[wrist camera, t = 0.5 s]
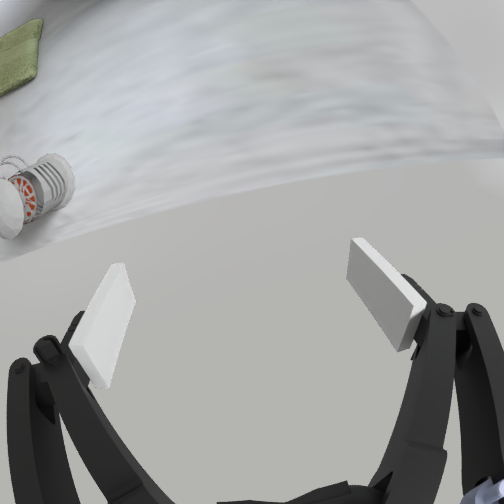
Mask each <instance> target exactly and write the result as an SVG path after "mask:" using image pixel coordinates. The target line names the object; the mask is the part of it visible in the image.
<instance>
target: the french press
mask: <svg viewBox="0 0 504 504" xmlns="http://www.w3.org/2000/svg"><path fill="white" fill-rule="evenodd" d="M11 157H14V158H18V159H20V160H21V161H22V162H23V163H24V164H25V165H26V166H28V168H25V169H23V170H27V171H24V172H23V170H21V169H20V168H19V167H18V166H16V165H15V164H13V163H10V162H4V163H2V162H3V161H4V160H5V159H7V158H11ZM3 164H12V165H14V166H15V167H17V168H18V169H19V172H21V173H20V174H18V175H14V176H12V177H11V178H9V179H8V180H6V179H5V177H0V237H1V238H3V239H12V238H14V237H16V236H17V235H18V234H19V232H20V231H21V229H22V227H23V224H27V223H29V222H33V221H35V220H36V219H38V218H39V217H41V216H42V215H43V214H45V213H46V212H48V211H49V210H59V209H61V208H64V207H65V206H66V205H67V204H68V203H69V202H70V200H71V199H72V196H73V193H74V190H75V177H74V174H73V171H72V168H71V166H70V164H69V163H68V162H67V161H66V159H65V158H63V157H62V156H60V155H58V154H46V155H45V156H43V157H41V158H40V159H39V160H38V161H37V163H36V164H33V165H30V166H29V165H28V164H27V163H26V162H25V161H24V160H23V159H21V158H20V157H18V156H12V155H11V156H7V157H4V158H3V159H2V160H1V162H0V166H1V165H3ZM17 173H18V172H17ZM38 204H39V205H41V206H43V208H42V207H39V206H38ZM37 208H39V209H41V210H42V211H39V210H37ZM36 212H40V214H37V213H36ZM35 215H37V216H36V217H34V216H35Z"/></svg>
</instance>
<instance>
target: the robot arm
mask: <svg viewBox="0 0 504 504" xmlns="http://www.w3.org/2000/svg"><path fill="white" fill-rule="evenodd" d="M347 280H348V281H349V283H350V284H351V285H352V287H353V288H354V289H355V291H356V292H357V294H358V295H359V297H360V298H361V299H362V301H363V302H364V304H365V305H366V307H367V308H368V309H369V311H370V312H371V314H372V315H373V317H374V318H375V320H376V321H377V323H378V324H379V326H380V327H381V328H382V330H383V331H384V333H385V334H386V336H387V337H388V339H389V340H390V342H391V344H392V345H393V346H394V348H395V350H396V351H397V352H399V351H402V350H405V349H409V348H410V346H411V344H412V342H413V339H414V340H415V341H416V343H417V346H416V349H415V351H414V353H413V355H412V358H411V360H413V362H412V367H411V371H410V375H409V379H408V383H407V387H406V391H405V395H404V398H403V401H402V405H401V408H400V412H399V415H398V418H397V421H396V424H395V427H394V430H393V433H392V436H391V438H390V441H389V444H388V446H387V449H386V452H385V454H384V457H383V459H382V461H381V464H380V466H379V468H378V470H377V472H376V473H375V475H374V476H373V478H372V479H371V482H370V483H369V485H368V487H367V486H361V485H348V482H347V481H344V482H340V483H337V484H333V485H330V486H326V487H322V488H318V489H315V490H313V491H311V492H309V493H307V494H305V495H302V496H300V497H298V498H296V499H293V500H290V501H288V502H285V503H279V502H264V501H253V500H245V501H234V502H233V501H232V502H217V504H433V503H434V500H435V497H436V494H437V492H438V488H439V485H440V482H441V479H442V475H443V472H444V468H445V464H446V460H447V451H446V450H444V449H443V444H444V439H445V434H446V429H447V424H448V418H449V412H450V406H451V398H452V390H453V381H454V380H455V386H456V393H457V401H458V409H459V419H460V431H461V453H462V488H463V495H464V497H463V499H462V501H461V503H460V504H504V351H503V348H502V346H501V343H500V341H499V338H498V335H497V333H496V331H495V328H494V326H493V323H492V321H491V318H490V316H489V314H488V312H487V310H486V309H485V308H484V307H483V306H482V305H480V304H476V303H471V304H468V306H467V308H466V310H465V312H455V311H454V310H453V308H451V307H450V306H448V305H446V304H442V303H438V304H436V303H435V302H434V301H433V299H432V298H431V297H430V296H429V295H428V294H427V293H426V292H425V291H424V290H422V288H421V287H420V286H419V285H417V283H416V282H415V281H414V280H413V279H412V278H410V277H409V276H407V275H405V274H401V275H400V274H399V273H398V272H397V271H396V270H395V269H394V268H393V267H392V266H391V265H390V264H389V263H388V262H387V261H386V260H385V259H384V258H383V257H382V256H381V255H380V254H379V253H378V252H377V251H376V250H375V249H374V248H373V247H372V246H371V245H370V244H369V243H368V242H367V241H366V240H365V239H364V238H352V239H351V245H350V253H349V262H348V270H347ZM135 303H136V301H135V298H134V295H133V292H132V288H131V285H130V282H129V279H128V276H127V272H126V269H125V265H124V263H116V264H112V265H111V266H110V268H109V270H108V272H107V273H106V275H105V277H104V278H103V280H102V282H101V283H100V285H99V287H98V289H97V291H96V292H95V294H94V296H93V298H92V299H91V301H90V303H89V305H88V307H87V309H86V311H80V312H79V313H78V314H77V315H76V316H75V317H74V319H73V321H72V323H71V326H69V328H68V332H66V334H65V336H64V338H63V340H62V342H61V344H60V343H59V341H58V339H57V338H56V337H55V336H53V335H47V336H44V337H42V338H41V339H39V340H38V341H37V342H36V343H35V345H34V348H33V352H34V354H35V355H36V357H37V358H38V360H39V361H40V363H38V364H34V365H31V363H30V362H29V360H28V359H27V358H19V359H17V360H15V361H14V362H13V363H12V365H11V366H10V369H9V377H8V391H7V444H8V457H9V466H10V474H11V481H12V486H13V492H14V497H15V503H16V504H80V501H79V498H78V495H77V492H76V488H75V485H74V482H73V478H72V475H71V471H70V467H69V463H68V459H67V454H66V451H65V445H64V440H63V435H62V429H61V423H60V417H59V413H60V415H61V417H62V420H63V422H64V424H65V426H66V429H67V431H68V433H69V435H70V437H71V439H72V441H73V443H74V445H75V447H76V449H77V451H78V453H79V455H80V457H81V458H82V460H83V462H84V464H85V466H86V467H87V469H88V471H89V472H90V474H91V476H92V477H93V479H94V481H95V482H96V484H97V485H98V487H99V489H100V490H101V491H102V493H103V495H104V496H105V498H106V499H107V501H108V504H175V503H174V502H172V500H170V499H169V497H167V496H166V494H165V493H164V492H163V491H162V490H161V489H160V488H159V487H158V485H157V484H156V483H155V482H154V481H153V480H152V479H151V477H150V476H149V475H148V474H147V473H146V471H145V470H144V469H143V468H142V466H141V465H140V464H139V463H138V461H137V460H136V459H135V458H134V456H133V455H132V454H131V452H130V451H129V449H128V448H127V447H126V445H125V444H124V443H123V441H122V440H121V438H120V437H119V436H118V434H117V432H116V431H115V430H114V428H113V426H112V425H111V423H110V422H109V420H108V419H107V417H106V416H105V414H104V413H103V411H102V409H101V407H100V406H99V404H98V403H97V401H96V399H95V397H94V395H93V394H92V392H91V390H90V389H89V388H88V384H89V381H91V382H92V384H93V385H94V386H95V388H108V389H109V388H110V384H111V381H112V377H113V373H114V370H115V366H116V363H117V359H118V355H119V352H120V349H121V346H122V343H123V339H124V336H125V333H126V330H127V327H128V324H129V321H130V318H131V314H132V312H133V309H134V306H135Z"/></svg>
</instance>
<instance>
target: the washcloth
mask: <svg viewBox="0 0 504 504" xmlns="http://www.w3.org/2000/svg"><path fill="white" fill-rule="evenodd" d="M42 26H43V20H42V19H32V20H30V21H28V22H27V23H26V24H24V25H22V26H20V27H18V28H16V29H15V30H13V31H11V32H9V33H8V34H6V35H4V36H3V37H2V38H0V96H2V95H4V94H6V93H7V92H9V91H11V90H12V89H15V88H17V87H18V86H20V85H22V84H24V83H25V82H27V81H29V80H31V79H33V78H34V77H35V76H36V75H37V71H36V70H37V56H38V52H37V49H38V40H39V39H40V35H41V29H42Z"/></svg>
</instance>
